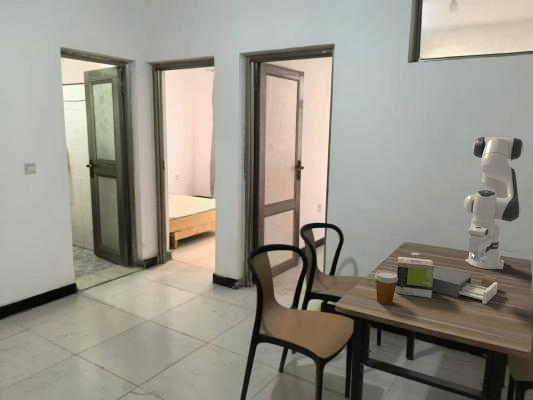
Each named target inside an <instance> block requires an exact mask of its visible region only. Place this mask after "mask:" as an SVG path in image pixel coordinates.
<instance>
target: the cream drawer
mask: <svg viewBox="0 0 533 400" xmlns="http://www.w3.org/2000/svg"><path fill="white" fill-rule="evenodd" d="M497 292H498V282H494V283H493V284H492V285H491V286H490V287H488V288H486V287H482V286H481V285H477V284H472V283H471V284H470V283H466V282H464V283H463V284H462V285H460V286H459V294H461V295H463V296H466V297H470V298H473V299H475V300H476V299H477V300H481V301H482V303H481V304H483V305H486V304H487V303H488V302H489V301H490V300H491V299H492V298H493V297H494V296H495V295H496V294H497Z"/></svg>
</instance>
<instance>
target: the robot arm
mask: <svg viewBox="0 0 533 400" xmlns="http://www.w3.org/2000/svg"><path fill="white" fill-rule="evenodd" d="M524 148H525V146H524V143H523V140H522V139H520V138H517V137H513V138H512V137H507V136H506V137H504V136H499V137H497V136H494V137H493V136H491V137H490V136H489V137H485V136H481V137H477V138H476V139H475V141H474V142H473V145H472V153H473V155H474V156H475V157H476V158H480V170H482V176H481V183H482V185H483V186H484V187H485V188H486V189H488V190H486V189H483V190H479V191H476V193H475V194H469V195H467V196H466V197H465V198H464V200H463V208H464V210H465V212H467V213H468V214H469V216H470V217H471V223H470V227H469V228H468V230H467V234H468V235H469V236H468V252H469V255H468V258H466V259H465V262H466V263H468V264H469V265H471V266H474V267H475V268H479V269H480V268H481V269H486V270H487V269H488V270H504V264H505V261H504V260H503V259H501V251H500V249H499V245H500V240H499V235H500V228H499V225H498V224H496V223H495V220H501V221H504V222H513V221H516V220H517V219H518V218H519V217H520V215H521V204H520V201H519V193H518V192H519V191H518V183H517V182H518V181H517V175H516V170H515V169H514V168H513V167H511V166H510V164H509V160H510V161H511V162H512V161H513V160H518V159H519V158H520V157H521V156H522V154H523V152H524V150H525V149H524ZM472 253H473V255H474V260H472V259H471V254H472ZM479 253H480V254H485V255H487V256H488V259H487V262H478V261H479Z"/></svg>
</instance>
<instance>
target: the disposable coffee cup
mask: <svg viewBox="0 0 533 400" xmlns="http://www.w3.org/2000/svg"><path fill="white" fill-rule="evenodd" d="M374 279H375V284H376V285H375V287H376V289H375V290H376V291H375V292H376V301H377V302H378V303H379V304H381V305H391V304H393V302H394V296H395V293H396V283H397V281H398V277H397V273H395V272H392V271H387V270H378V271H376V273H375V275H374Z"/></svg>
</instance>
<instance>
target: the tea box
mask: <svg viewBox="0 0 533 400" xmlns="http://www.w3.org/2000/svg"><path fill="white" fill-rule="evenodd" d="M434 267H435V266H434V263H433V260H432V259H428V258H427V259H425V258H416V257H405V256H398V257H397V266H396V274H397V277H398V281H397V283H396V288H395V293H396V294H400V295H405V296H407V295H409V296H413V297H414V296H417V297H422V298H430V299H432V295H433V291H432V284H433V271H434V270H435V269H434Z"/></svg>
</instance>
